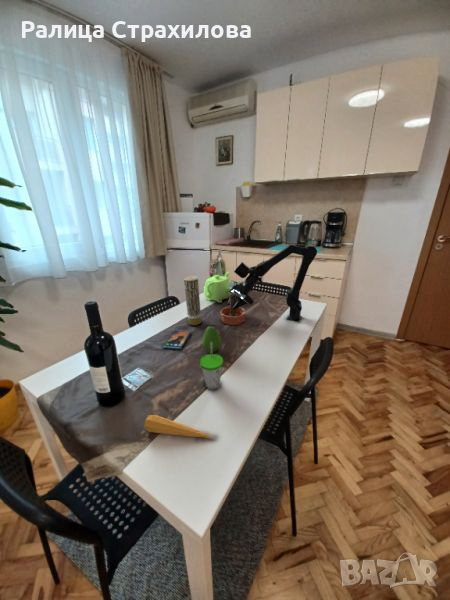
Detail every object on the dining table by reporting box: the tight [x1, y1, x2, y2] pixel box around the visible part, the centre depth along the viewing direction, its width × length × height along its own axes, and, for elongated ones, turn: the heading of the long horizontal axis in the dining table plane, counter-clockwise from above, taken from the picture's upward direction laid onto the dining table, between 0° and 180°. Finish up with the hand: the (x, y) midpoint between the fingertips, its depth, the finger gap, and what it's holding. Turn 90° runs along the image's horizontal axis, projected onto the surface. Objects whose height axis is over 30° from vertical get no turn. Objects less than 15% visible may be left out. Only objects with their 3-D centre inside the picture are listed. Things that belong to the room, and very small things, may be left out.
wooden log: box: [183, 275, 202, 326], centre depth 121 cm, size 7×7×25 cm
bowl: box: [220, 306, 246, 326], centre depth 127 cm, size 13×13×5 cm
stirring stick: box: [229, 293, 237, 317], centre depth 125 cm, size 4×4×14 cm
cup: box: [199, 342, 224, 391], centre depth 80 cm, size 8×8×15 cm
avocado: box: [201, 325, 222, 354], centre depth 100 cm, size 8×8×12 cm
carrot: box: [143, 414, 215, 439], centre depth 65 cm, size 20×4×4 cm, turn 79°
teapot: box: [203, 271, 231, 303], centre depth 154 cm, size 25×22×16 cm
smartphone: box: [163, 329, 192, 350], centre depth 111 cm, size 8×1×15 cm
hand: (230, 307), depth 125 cm, fingers open, 6 cm apart
